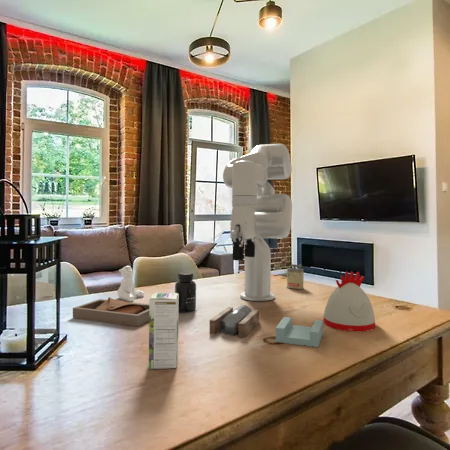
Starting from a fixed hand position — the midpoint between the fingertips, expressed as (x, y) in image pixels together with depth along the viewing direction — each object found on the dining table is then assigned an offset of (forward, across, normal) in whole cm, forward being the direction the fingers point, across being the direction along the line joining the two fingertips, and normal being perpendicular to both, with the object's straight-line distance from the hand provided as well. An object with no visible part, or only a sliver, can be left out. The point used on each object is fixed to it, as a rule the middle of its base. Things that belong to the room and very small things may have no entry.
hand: (244, 258), depth 112 cm
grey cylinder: (+18, +11, +2) cm, 21 cm away
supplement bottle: (+18, +2, -20) cm, 26 cm away
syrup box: (+18, +40, -2) cm, 44 cm away
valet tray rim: (+18, +17, -35) cm, 42 cm away
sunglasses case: (+18, +17, -35) cm, 42 cm away
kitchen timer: (+18, -5, +30) cm, 35 cm away
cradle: (+18, +13, +20) cm, 30 cm away
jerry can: (+17, -47, +5) cm, 50 cm away
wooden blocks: (+18, +12, +2) cm, 21 cm away
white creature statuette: (+18, -4, -47) cm, 50 cm away
